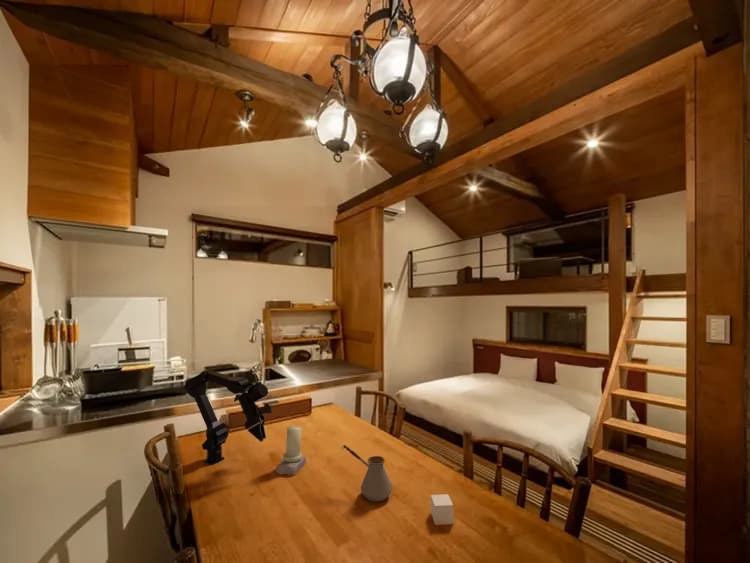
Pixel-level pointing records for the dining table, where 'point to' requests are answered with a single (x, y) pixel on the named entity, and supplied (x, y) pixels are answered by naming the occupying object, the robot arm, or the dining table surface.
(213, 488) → the dining table surface
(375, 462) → the coffee pot
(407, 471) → the dining table surface
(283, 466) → the stone block
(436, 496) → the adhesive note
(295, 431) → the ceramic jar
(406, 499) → the dining table surface
